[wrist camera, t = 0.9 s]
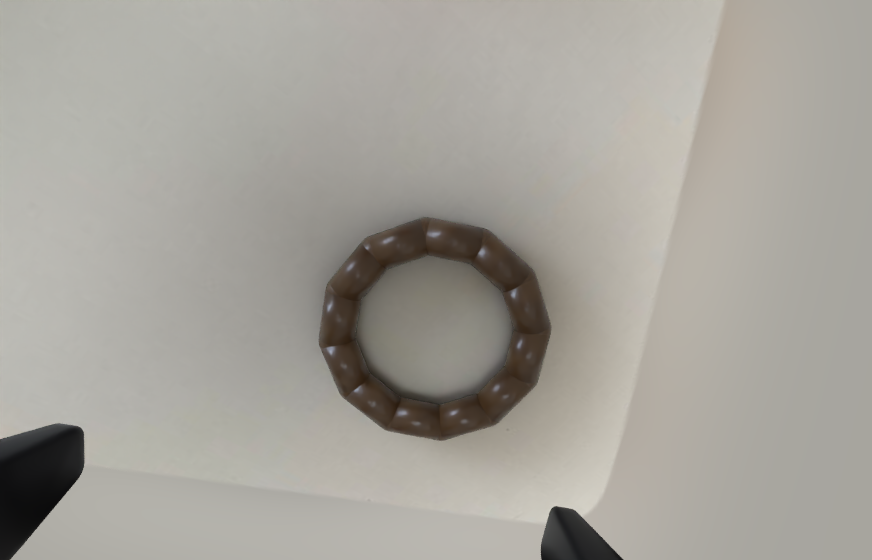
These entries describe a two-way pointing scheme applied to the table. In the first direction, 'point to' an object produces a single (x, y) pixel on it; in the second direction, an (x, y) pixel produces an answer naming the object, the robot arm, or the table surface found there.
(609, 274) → the table surface
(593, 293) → the table surface
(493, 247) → the ring
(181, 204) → the table surface
